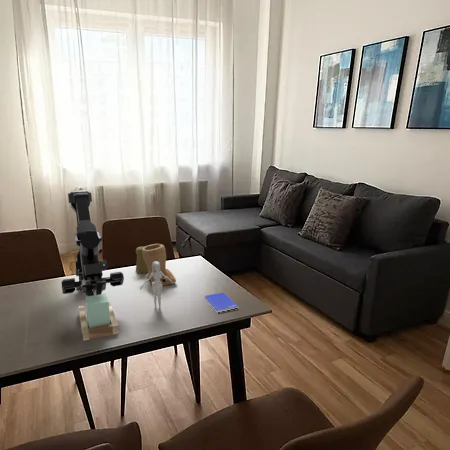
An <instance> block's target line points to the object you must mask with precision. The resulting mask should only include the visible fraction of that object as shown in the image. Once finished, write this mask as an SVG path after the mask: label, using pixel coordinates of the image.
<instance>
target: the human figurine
mask: <svg viewBox="0 0 450 450" xmlns="http://www.w3.org/2000/svg"><path fill="white" fill-rule="evenodd" d="M161 275H163V276H164V274H163V273H162V272H161V271H160V262H158V261H155V262H153V263H152V273H151V275H150V276H149V277H148V279H145V281H144V283H143V284H142V285H141V286H140V287H139V290H140V291H141V290H142V289H143V288H144V286H145V285H147V283H148V282H149V281H150V278H151V277H152V276H153V278H154V279H155V282H153V283H152V282H151V289H152V294H153V295H154V297H153V304H154V309H156V310H157V308H158V311H159V312H160V313H163V311H162V309H161V303H162V302H161V300H162V293H163V285H162V283H161V281H160V279H161V278H162V276H161ZM164 277H165V278H167V279H168V280H170V279H169V278H168V277H167V276H164ZM170 281H171V280H170ZM171 282H172V281H171ZM172 284H173V282H172ZM157 301H158V306H157Z"/></svg>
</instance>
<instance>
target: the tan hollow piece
mask: <svg viewBox="0 0 450 450" xmlns="http://www.w3.org/2000/svg"><path fill="white" fill-rule="evenodd" d="M143 247H144V248H143V249H142V253H143V258H144V260H145V262H146V264H147V266H148V269H149V272H147V277H148V278H149V276H150V275H151V273H152V263H153V262H155V261H158V262H160V271H161V272H162V273H163V274H164V276H167V277H168V278H169V279H170V280H171V281H172V282H173V283H176V282H177V279H176V277H175V276H174V274H173V272H171V270H169V269H168V268H166V265H167V262H166V261H167V251H166V247H165V245H164V244H162V243H153V244H149V245H145V246H143ZM161 276H162V278H161V279H160V281H161V283H162V286H167V285H169V286H170V285H171V284H173V283H172V282H171V281H170V280H168V279H167V278H165V277H164V276H163V275H161ZM149 281H151V284H152V283H153V282H155V279H154V278H153V276H152V277H151V278H150V279H149Z"/></svg>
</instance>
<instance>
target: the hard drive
mask: <svg viewBox="0 0 450 450" xmlns="http://www.w3.org/2000/svg"><path fill="white" fill-rule="evenodd" d="M204 299H205V300H206V302H207V303H208V302H209V303H208V304H209V305H210V306H211V307H212V308H213V309H215V310H214V311H215V312H216V313H217V314H218V312H220V313H223V312H222V311H225V312H227V311H226V310H230V309H234V308H238V309H239V306H238V305H237V304H236V303H235V301H233V299H232V298H230V297H229V295H227V294H226V293H225V292H220V293H219V292H218V293H212V294H207V295H204ZM230 311H231V310H230Z"/></svg>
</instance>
